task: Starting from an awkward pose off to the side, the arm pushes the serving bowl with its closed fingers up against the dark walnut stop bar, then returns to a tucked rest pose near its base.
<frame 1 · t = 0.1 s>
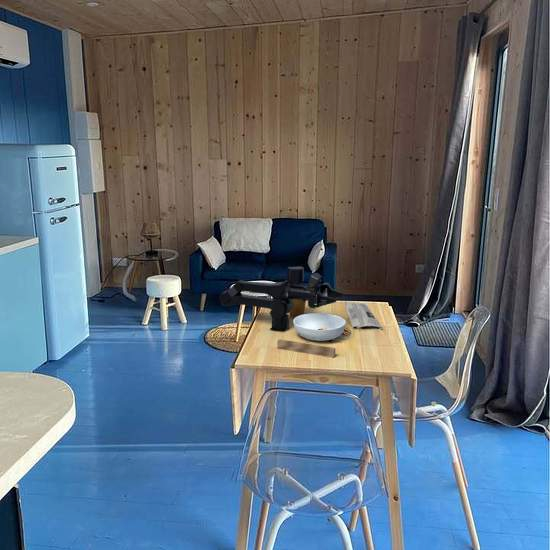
hand: (339, 297, 204), 17 cm above the table, tool horizontal, fingers open, 9 cm apart
serving bowl: (319, 337, 209), on the table
disposable coffee cup: (296, 317, 235), on the table
walnut stop bar: (305, 352, 192), on the table
newspaper: (359, 319, 234), on the table
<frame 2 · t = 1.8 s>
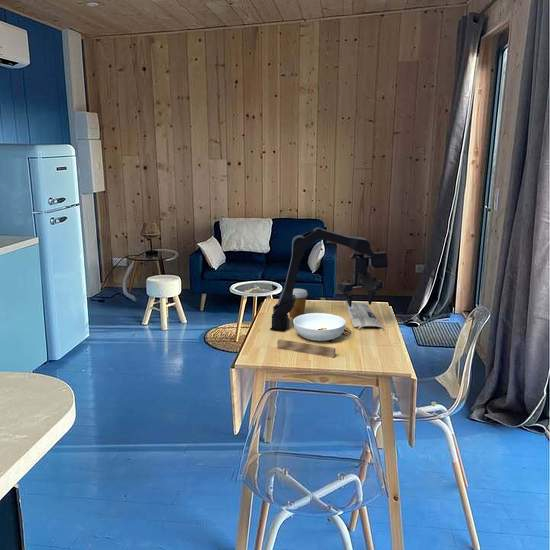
hand: (360, 305, 216), 10 cm above the table, tool pointing down, fingers open, 9 cm apart
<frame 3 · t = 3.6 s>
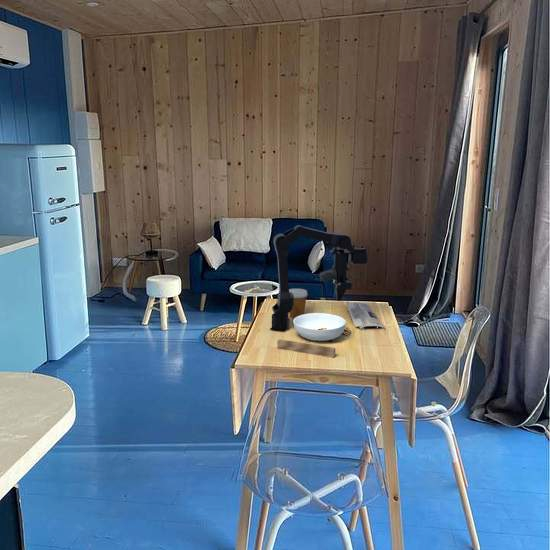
hand: (338, 300, 218), 12 cm above the table, tool pointing down, fingers closed
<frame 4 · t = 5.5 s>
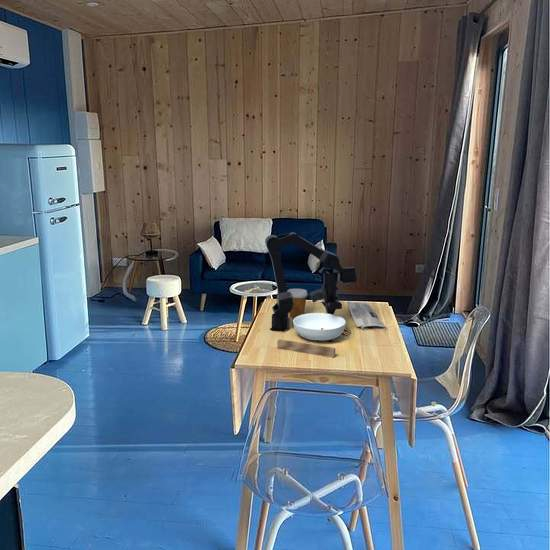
hand: (329, 319, 219), 4 cm above the table, tool pointing down, fingers closed
serving bowl: (319, 337, 209), on the table, touching gripper
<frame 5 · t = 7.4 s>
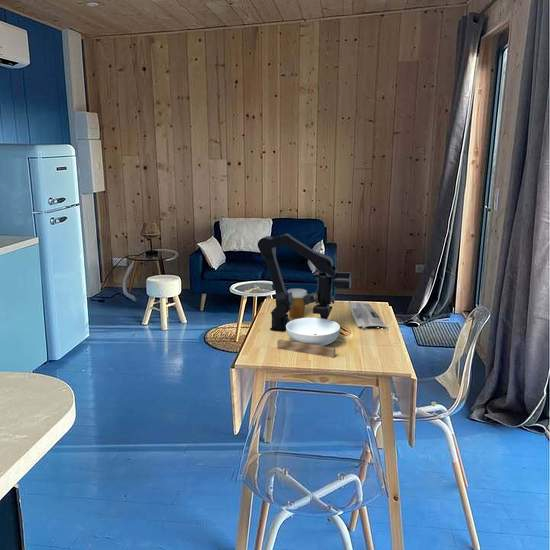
hand: (323, 324, 213), 4 cm above the table, tool pointing down, fingers closed
serving bowl: (312, 343, 202), on the table, touching gripper, walnut stop bar
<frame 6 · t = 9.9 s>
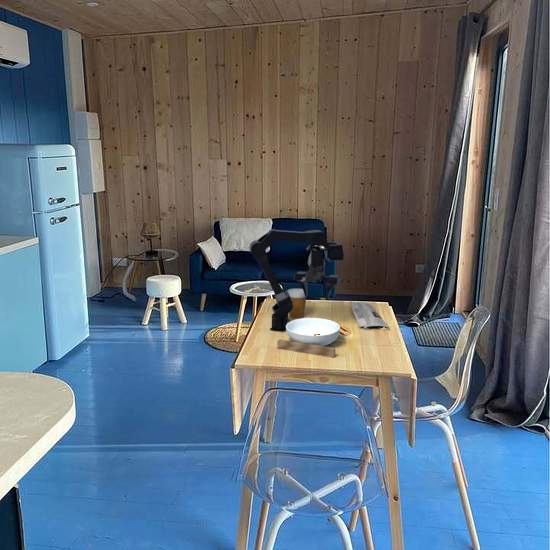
hand: (316, 298, 217), 13 cm above the table, tool pointing down, fingers open, 9 cm apart
serving bowl: (312, 343, 202), on the table
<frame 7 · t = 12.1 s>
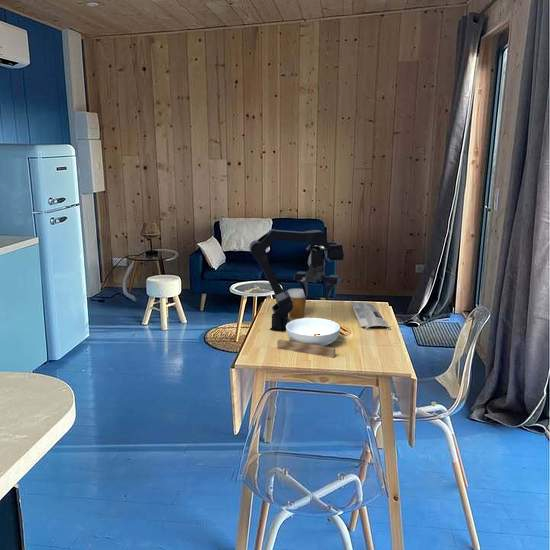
hand: (316, 298, 217), 13 cm above the table, tool pointing down, fingers open, 9 cm apart
at the end: serving bowl inside the target area (1.4 cm from its centre), on the table; serving bowl tilted 0°; disposable coffee cup moved 0.2 cm from its start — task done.
